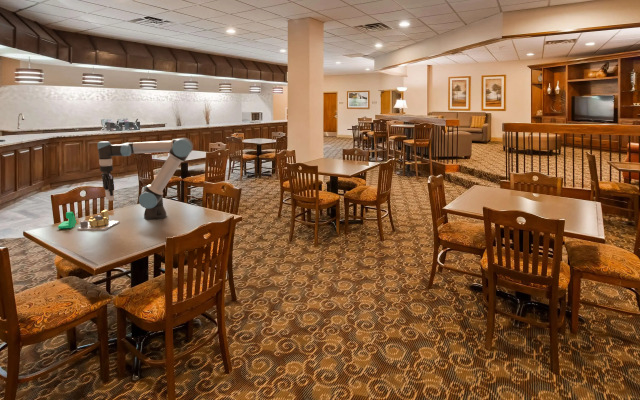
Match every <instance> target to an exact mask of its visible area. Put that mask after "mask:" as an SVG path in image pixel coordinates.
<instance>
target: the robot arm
mask: <svg viewBox="0 0 640 400" xmlns="http://www.w3.org/2000/svg"><path fill="white" fill-rule="evenodd" d="M193 150H194V143H193V140H191V139H190V138H189V137H188V138H187V137H178V138H172V140H160V141H142V142H141V141H139V142H137V141H136V142H123V143H121V144H112V143H111V142H110V141H99V142H97V154H98V162H99V163H98V164H99V171H100V172H102V173H101V179H102V187H103V189H104V193H105V200H109V202H110V201H115V198H114V191H115V182H114V175H113V174H112V173H111V172H113V171H114V166H113V161H114V160H113V159H112V158H113V157H130V156H132V155H134V154H147V153H148V154H150V153H168V154H169V156H168V157H167V158H166V160H165V162H164V163H163V165H162V167H161V168H160V170H159V171H158V173H157V174H156V176H155V177H154V179H153V180H152V182H151V184H148V185H144V187H143V192H142V193H140V195H139V196H138V203H139V206H141V207H142V208H144V212H143V219H145V220H161V219H164V218H166V217H167V210H166V209H165V207H164V199H163V198H164V197H163V195H164V189H165V187H167V184H168V183H169V182H170V180H171V179H172V177H173V176H174V174H175V172H176V171H177V169H178V168H179V166H180V165H181V163H182V162H186V160H187V159H188V157H189V156H190V154H191V153H192V151H193Z"/></svg>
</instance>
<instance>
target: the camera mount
mask: <svg viewBox="0 0 640 400" xmlns="http://www.w3.org/2000/svg"><path fill="white" fill-rule="evenodd" d="M65 218H66V219H67V221H66V220H65V221H64V220H63V221H62V222H61V223H60V224H58V226H57V229H59V230H60V229H73V228H74V227H75V226H76V224H77V219H76V216H75V214H74V212H73V211H66V212H65Z"/></svg>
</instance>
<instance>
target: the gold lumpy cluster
mask: <svg viewBox="0 0 640 400" xmlns="http://www.w3.org/2000/svg"><path fill="white" fill-rule="evenodd" d="M100 215H102V216H103V220H96V219H94V216H90V217H89V219H88V223H89V225H90V226H102V225H106V224H108V223H109V222H108V221H110V215H109V210H108V209H104V210H101V211H100Z"/></svg>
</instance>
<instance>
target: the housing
mask: <svg viewBox="0 0 640 400" xmlns="http://www.w3.org/2000/svg"><path fill="white" fill-rule="evenodd" d="M93 217H94V219H96V220H103V216H102V215H101V214H98V215H97V214H96V215H93ZM108 222H109V223H108V224H106V225H102V226H90V225H89V220H82V221H80V226H79V227H77V231H107V230H110V229H111V228H113V227H114V226H116V225H118V224H120V220H108Z"/></svg>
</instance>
